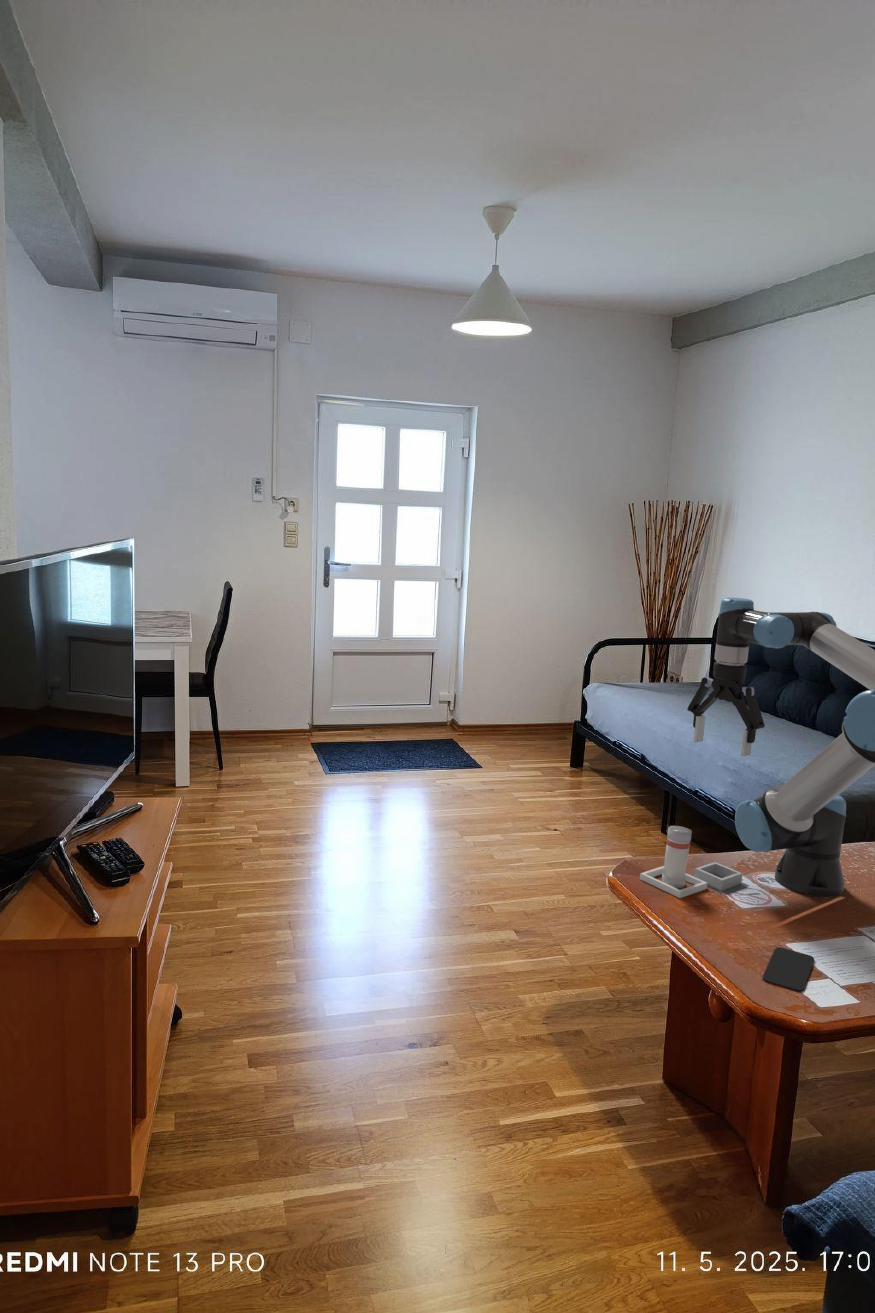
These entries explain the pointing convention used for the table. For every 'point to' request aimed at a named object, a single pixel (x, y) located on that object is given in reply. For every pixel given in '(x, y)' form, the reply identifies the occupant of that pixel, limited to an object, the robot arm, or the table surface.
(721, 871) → the box
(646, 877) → the grey rectangular frame
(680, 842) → the cylinder
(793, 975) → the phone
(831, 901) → the table surface
